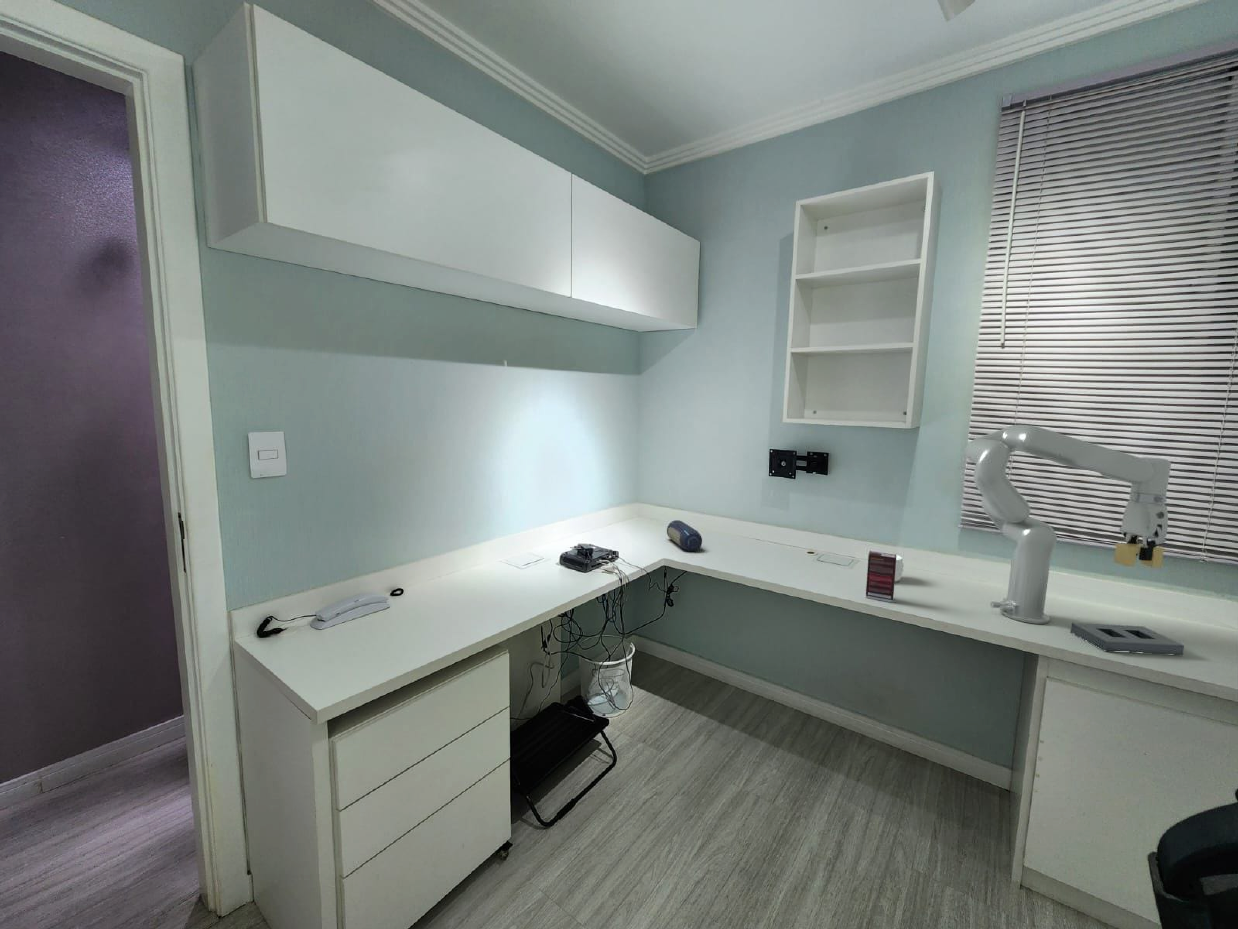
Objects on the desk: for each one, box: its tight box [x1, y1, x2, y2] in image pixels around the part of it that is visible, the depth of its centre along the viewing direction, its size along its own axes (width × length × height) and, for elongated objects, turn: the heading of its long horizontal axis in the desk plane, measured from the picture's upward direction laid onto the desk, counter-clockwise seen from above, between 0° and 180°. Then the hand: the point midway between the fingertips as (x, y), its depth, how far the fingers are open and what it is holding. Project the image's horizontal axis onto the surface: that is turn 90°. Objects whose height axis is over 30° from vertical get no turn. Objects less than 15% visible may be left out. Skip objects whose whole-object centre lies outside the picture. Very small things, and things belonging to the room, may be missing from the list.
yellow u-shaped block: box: [1113, 542, 1165, 569], centre depth 157 cm, size 10×4×6 cm, turn 85°
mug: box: [888, 552, 905, 583], centre depth 197 cm, size 12×10×9 cm
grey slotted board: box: [1070, 622, 1185, 656], centre depth 148 cm, size 20×12×3 cm, turn 85°
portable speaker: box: [666, 519, 703, 552], centre depth 239 cm, size 25×10×10 cm, turn 15°
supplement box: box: [865, 550, 897, 603], centre depth 178 cm, size 9×5×16 cm, turn 60°
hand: (1137, 557), depth 157 cm, fingers closed on yellow u-shaped block, 4 cm apart
